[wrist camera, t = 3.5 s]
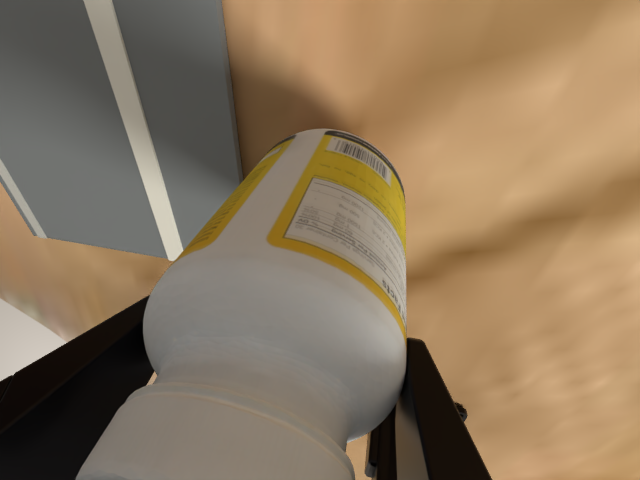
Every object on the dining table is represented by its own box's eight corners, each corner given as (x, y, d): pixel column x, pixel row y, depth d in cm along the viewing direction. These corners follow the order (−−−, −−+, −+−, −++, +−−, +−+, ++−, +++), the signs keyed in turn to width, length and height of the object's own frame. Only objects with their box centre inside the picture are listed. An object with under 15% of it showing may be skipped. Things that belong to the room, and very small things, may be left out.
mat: (220, -5, 13) (213, -5, 12) (254, 268, 21) (250, 274, 21) (-111, -20, 15) (-129, -21, 14) (40, 231, 23) (32, 236, 23)
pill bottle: (257, 234, 17) (80, 522, 8) (264, 104, 13) (-89, 386, 4) (382, 268, 16) (350, 613, 7) (430, 144, 12) (495, 573, 3)
